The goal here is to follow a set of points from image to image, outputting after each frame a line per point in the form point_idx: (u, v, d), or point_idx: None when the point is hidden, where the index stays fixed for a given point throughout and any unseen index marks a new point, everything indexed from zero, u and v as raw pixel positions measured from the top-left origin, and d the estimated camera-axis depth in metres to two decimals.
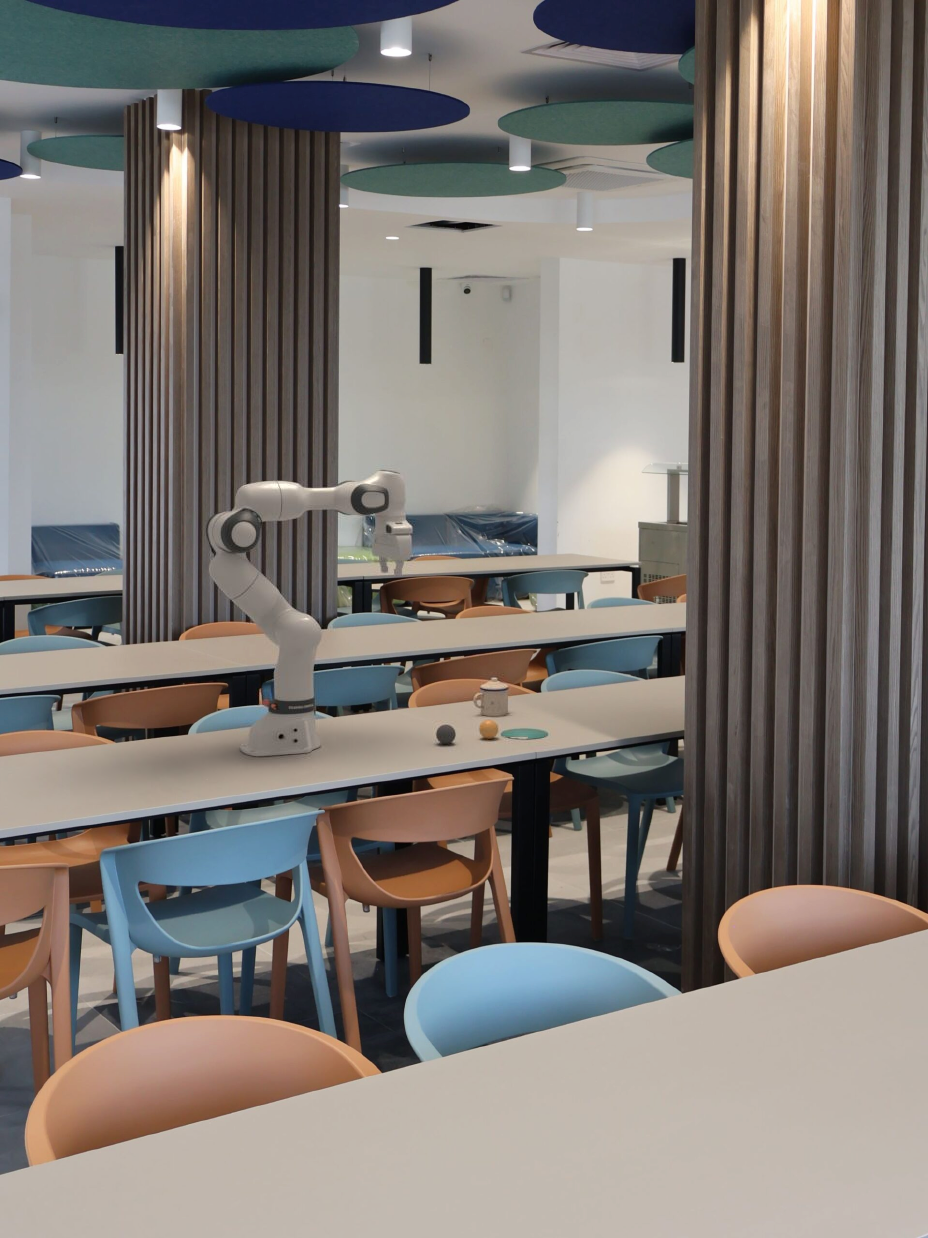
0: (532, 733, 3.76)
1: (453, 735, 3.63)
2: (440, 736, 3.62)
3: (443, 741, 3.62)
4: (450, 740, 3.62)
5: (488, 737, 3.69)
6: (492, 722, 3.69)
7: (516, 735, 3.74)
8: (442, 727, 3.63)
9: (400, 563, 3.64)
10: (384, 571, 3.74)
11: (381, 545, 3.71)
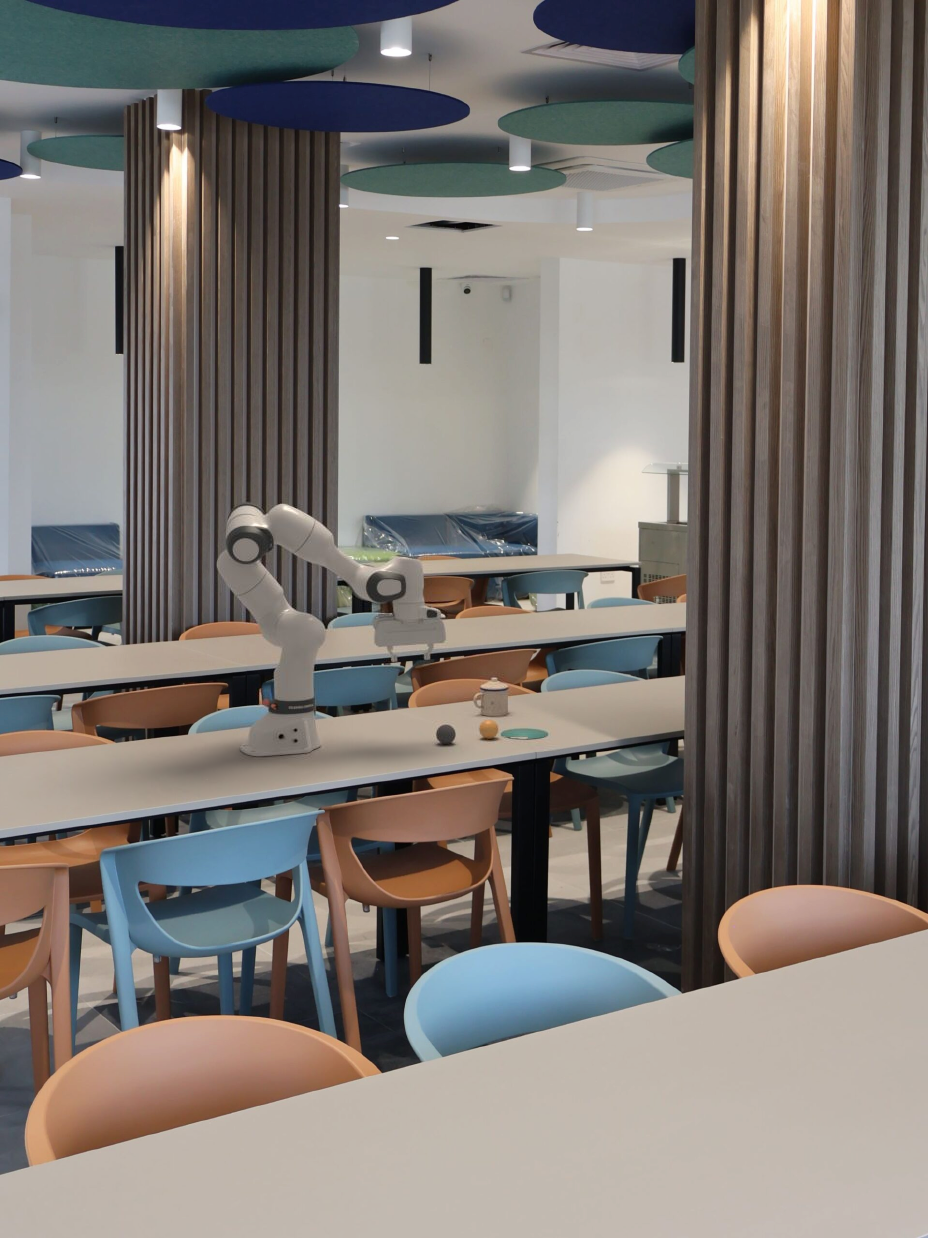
0: (532, 733, 3.76)
1: (453, 735, 3.63)
2: (440, 736, 3.62)
3: (443, 741, 3.62)
4: (450, 740, 3.62)
5: (488, 737, 3.69)
6: (492, 722, 3.69)
7: (516, 735, 3.74)
8: (442, 727, 3.63)
9: None
10: None
11: (401, 633, 3.57)
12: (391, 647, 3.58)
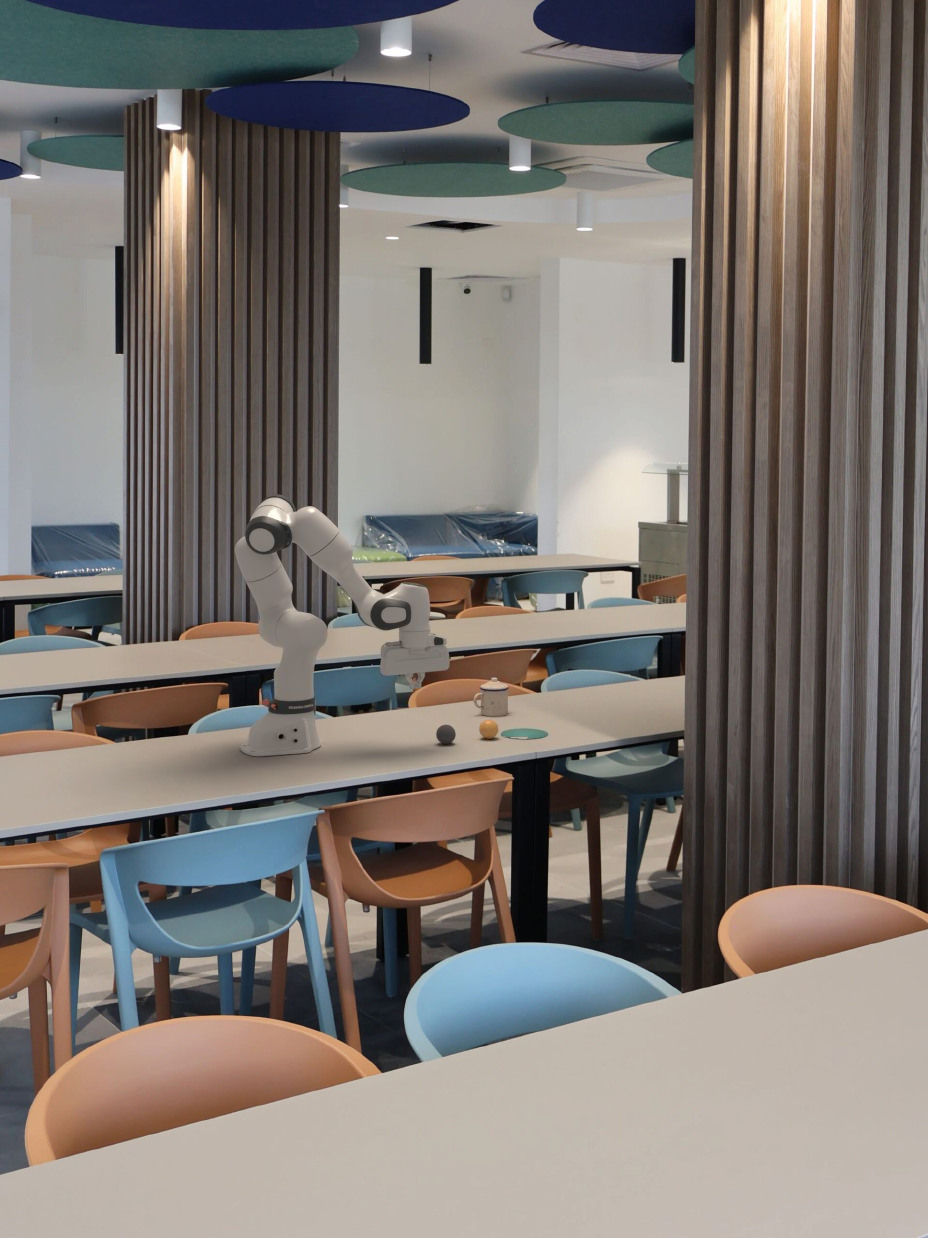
0: (532, 733, 3.76)
1: (453, 735, 3.63)
2: (440, 736, 3.62)
3: (443, 741, 3.62)
4: (450, 740, 3.62)
5: (488, 737, 3.69)
6: (492, 722, 3.69)
7: (516, 735, 3.74)
8: (442, 727, 3.63)
9: None
10: None
11: (409, 661, 3.54)
12: (411, 674, 3.56)
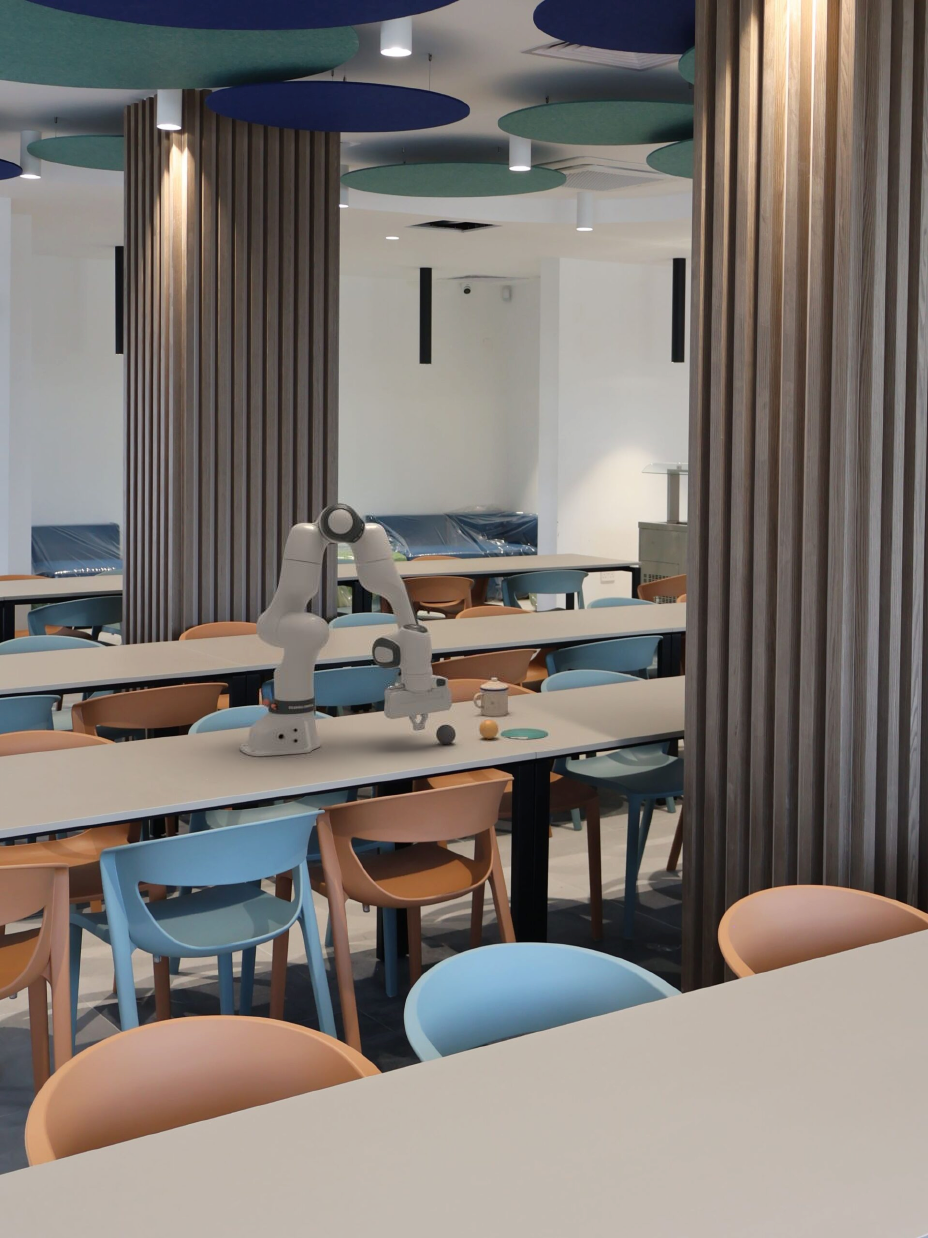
0: (532, 733, 3.76)
1: (453, 735, 3.63)
2: (440, 736, 3.62)
3: (443, 741, 3.62)
4: (450, 740, 3.62)
5: (488, 737, 3.69)
6: (492, 722, 3.69)
7: (516, 735, 3.74)
8: (442, 727, 3.63)
9: None
10: None
11: (412, 703, 3.57)
12: (415, 716, 3.59)
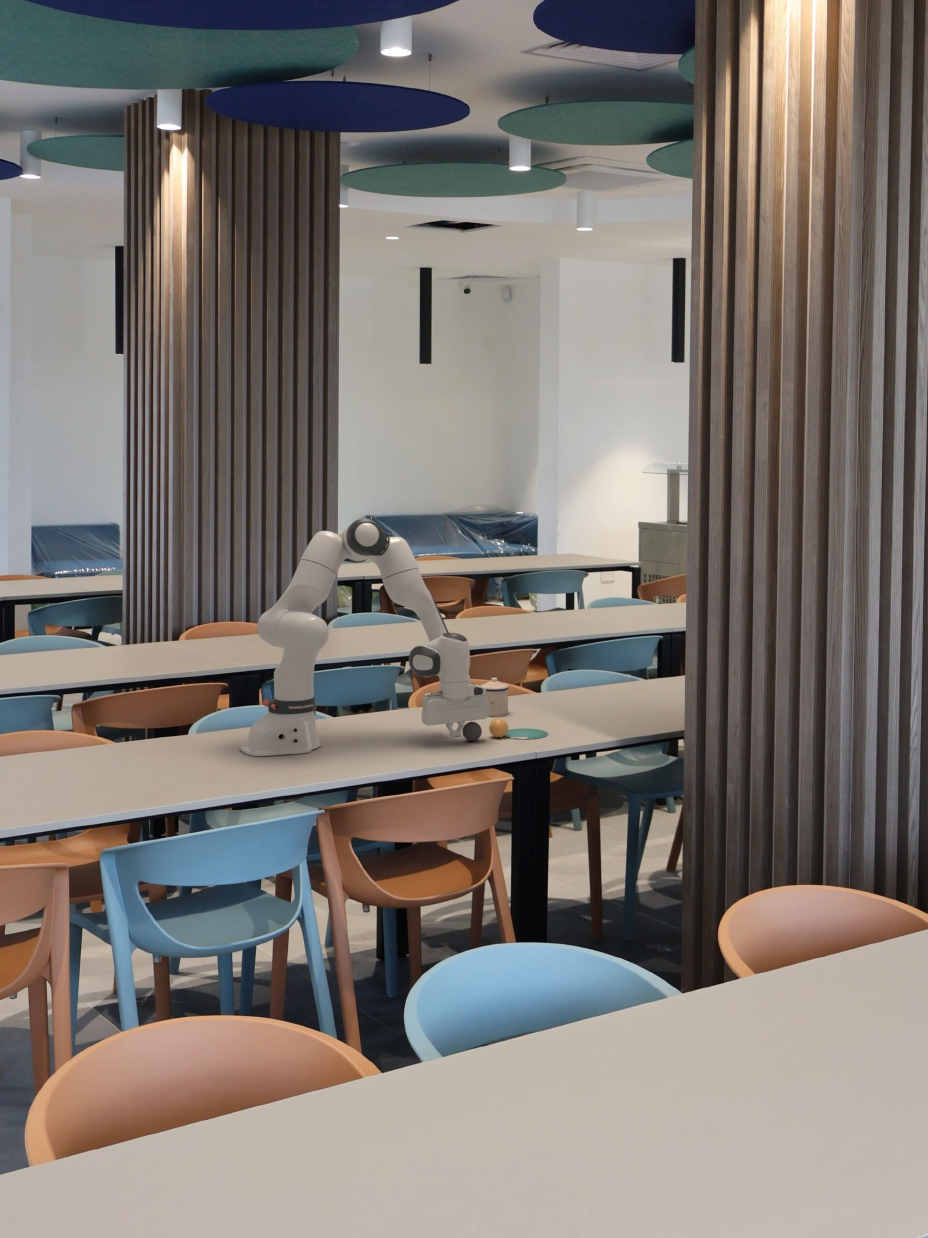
0: (532, 733, 3.76)
1: (472, 735, 3.65)
2: None
3: (477, 725, 3.67)
4: (473, 729, 3.65)
5: (494, 729, 3.70)
6: (507, 726, 3.72)
7: (516, 735, 3.74)
8: None
9: None
10: None
11: (449, 711, 3.62)
12: (452, 724, 3.64)
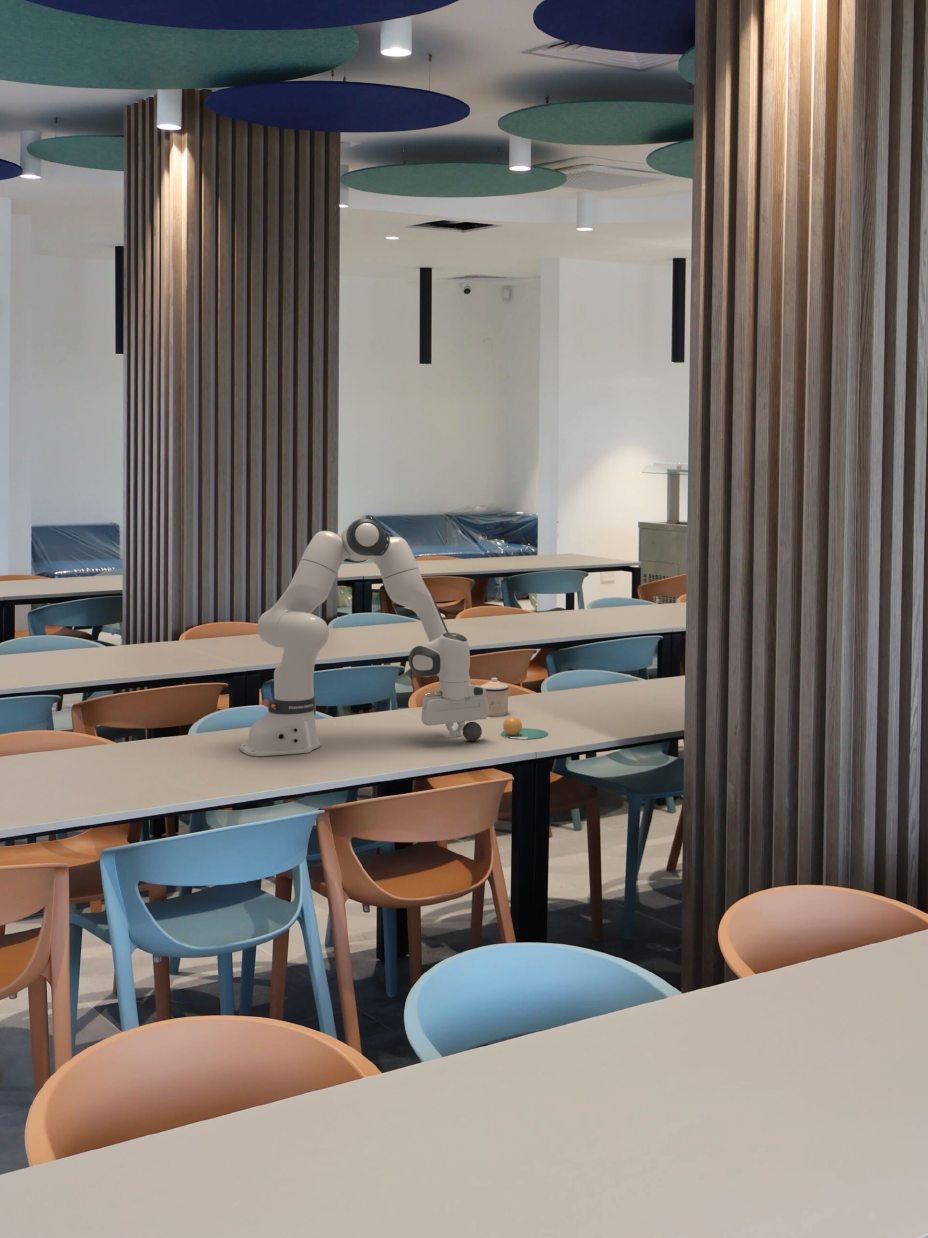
0: (532, 733, 3.76)
1: (472, 735, 3.65)
2: None
3: (477, 725, 3.67)
4: (473, 729, 3.65)
5: (516, 719, 3.73)
6: (516, 734, 3.73)
7: (516, 735, 3.74)
8: None
9: None
10: None
11: (449, 711, 3.62)
12: (451, 724, 3.64)
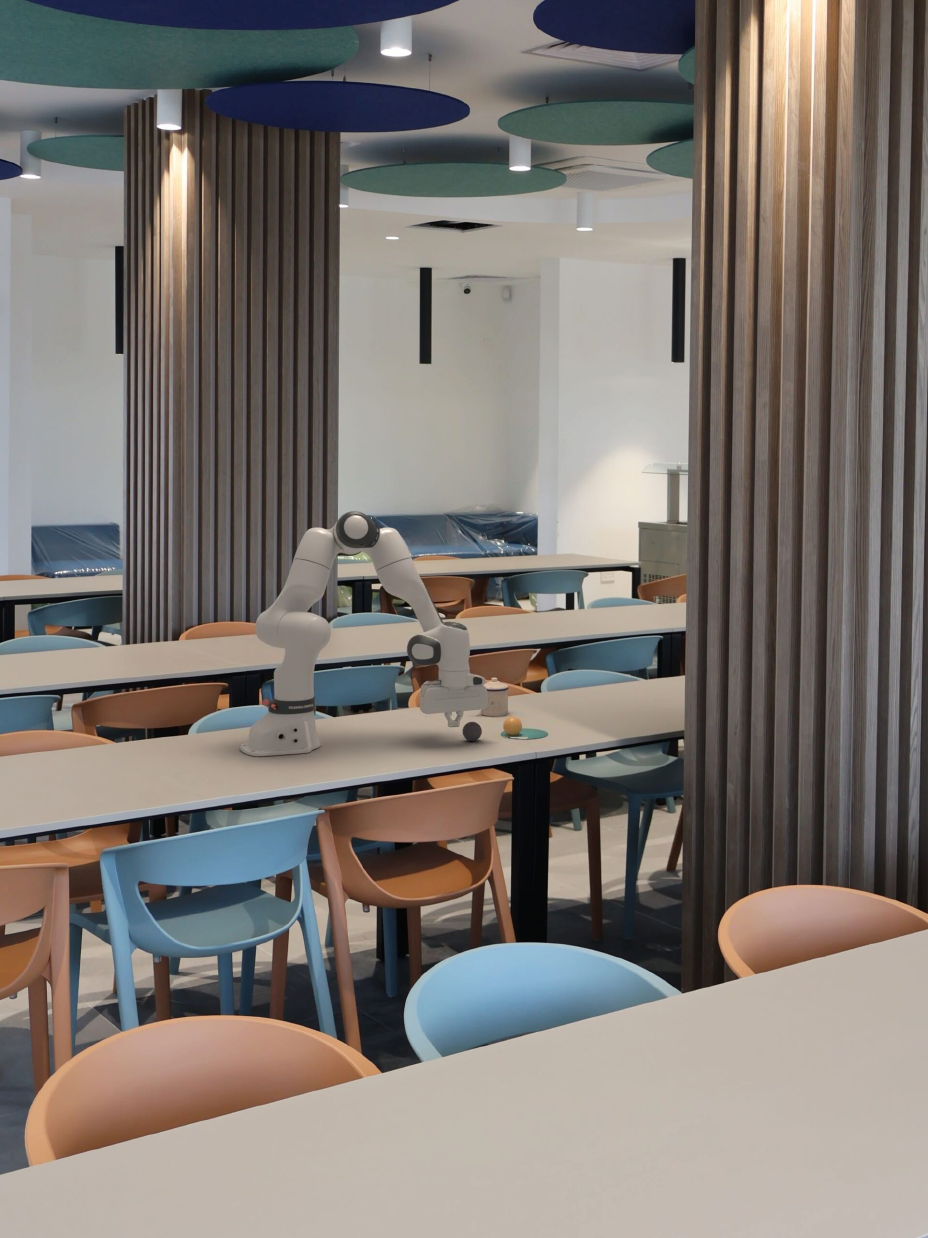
0: (532, 733, 3.76)
1: (472, 735, 3.65)
2: None
3: (477, 725, 3.67)
4: (473, 729, 3.65)
5: (516, 719, 3.73)
6: (516, 734, 3.73)
7: (516, 735, 3.74)
8: None
9: None
10: None
11: (448, 700, 3.60)
12: (450, 713, 3.62)
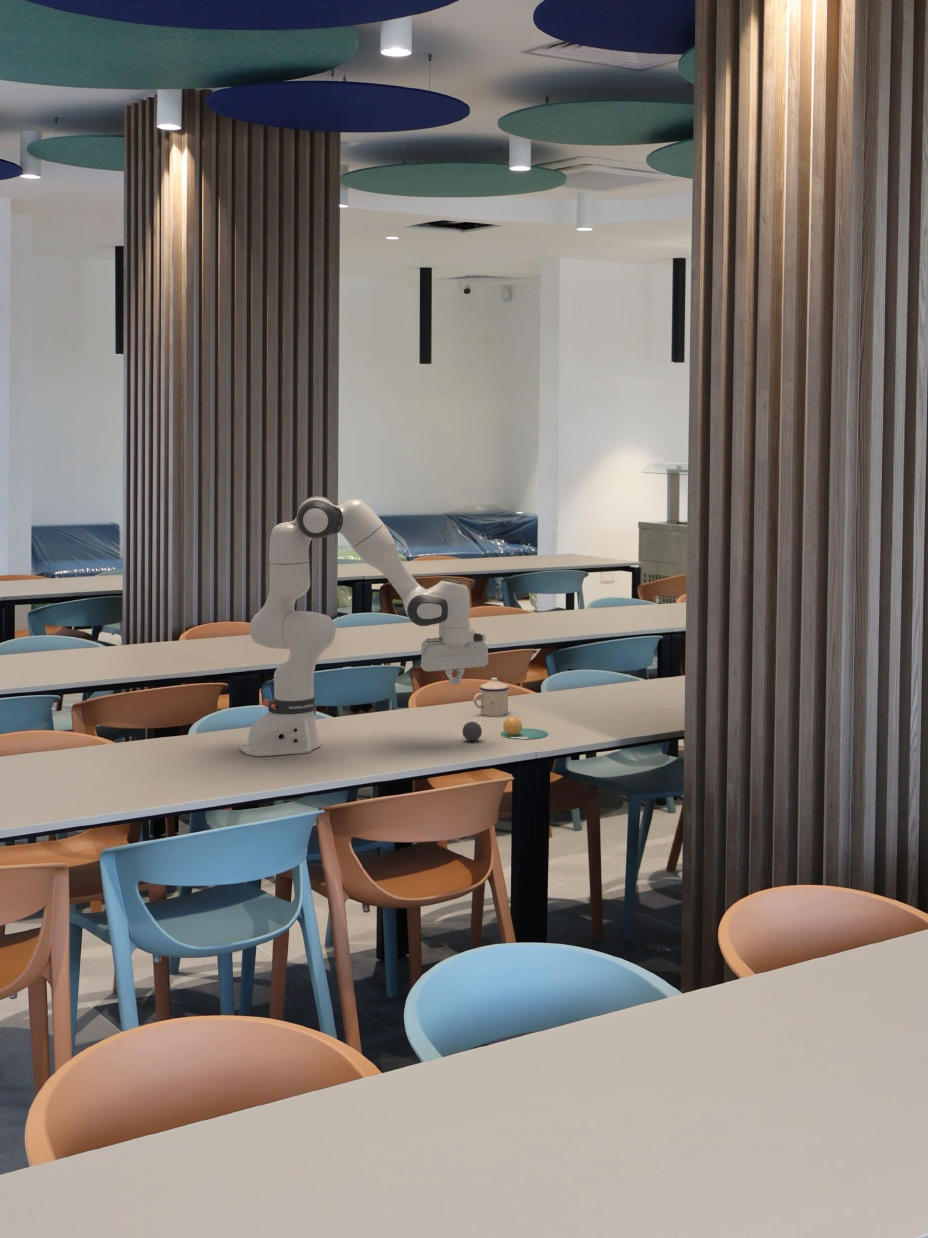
0: (532, 733, 3.76)
1: (472, 735, 3.65)
2: None
3: (477, 725, 3.67)
4: (473, 729, 3.65)
5: (516, 719, 3.73)
6: (516, 734, 3.73)
7: (516, 735, 3.74)
8: None
9: None
10: None
11: (449, 657, 3.60)
12: (451, 670, 3.62)
